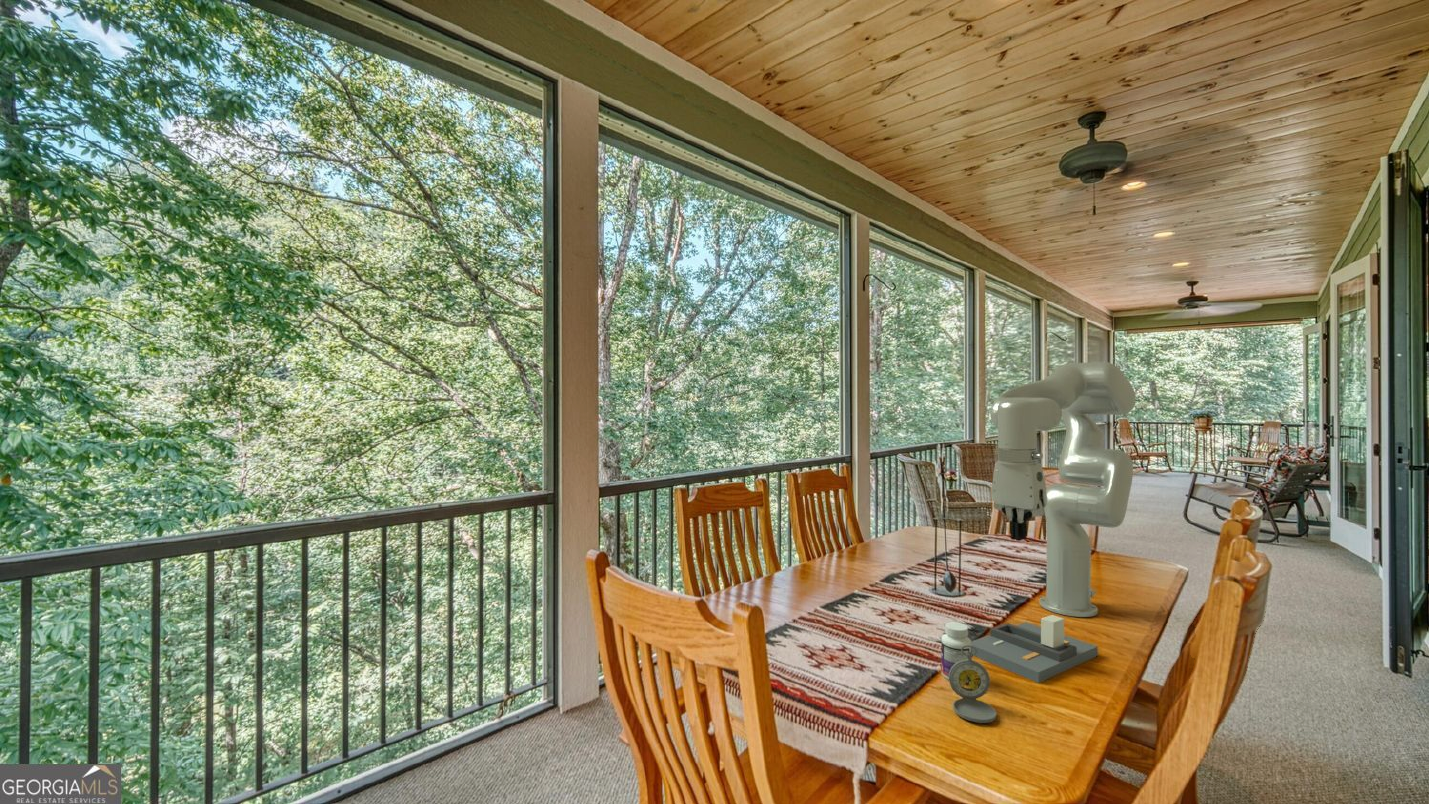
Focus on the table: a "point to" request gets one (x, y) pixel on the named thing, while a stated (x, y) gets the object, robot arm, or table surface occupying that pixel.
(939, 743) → the table surface
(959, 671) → the pocket watch
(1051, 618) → the fader
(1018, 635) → the console
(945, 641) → the pill bottle
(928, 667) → the table surface
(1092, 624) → the table surface
